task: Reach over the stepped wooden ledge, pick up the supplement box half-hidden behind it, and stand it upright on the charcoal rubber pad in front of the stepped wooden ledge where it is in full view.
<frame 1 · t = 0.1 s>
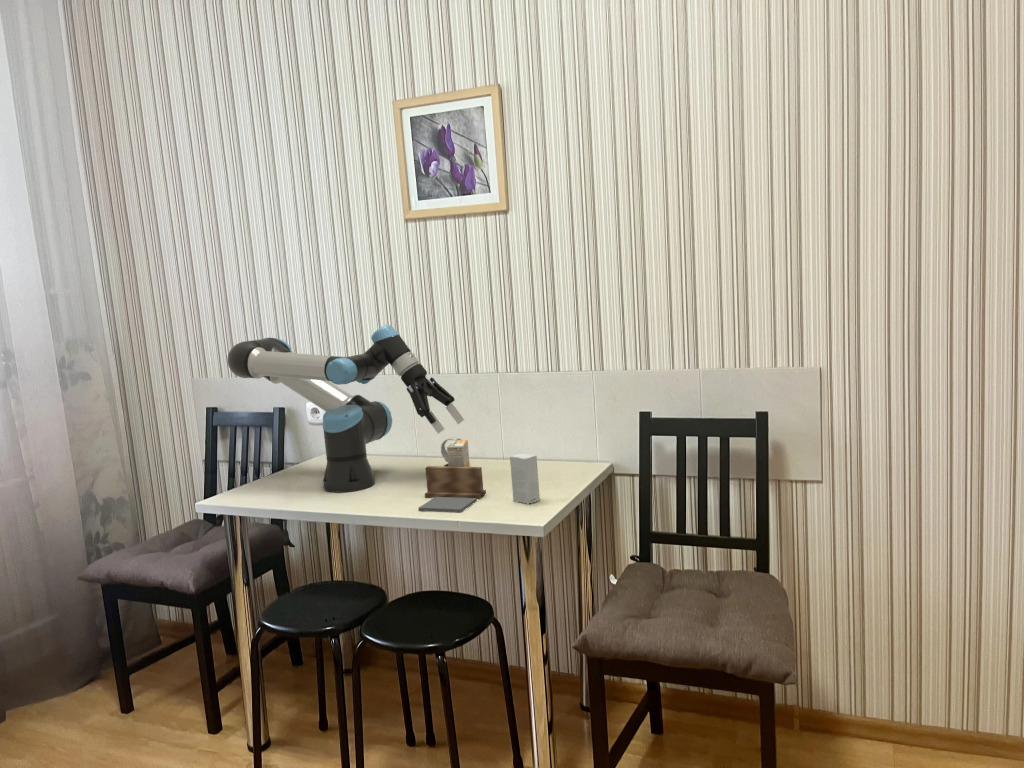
hand: (452, 426, 228), 15 cm above the table, tool tilted 35°, fingers open, 13 cm apart
pad: (448, 505, 199), on the table
watch: (455, 473, 234), on the table
stepped wooden ledge: (455, 496, 208), on the table
supplement box: (461, 488, 216), on the table
skincare box: (526, 501, 199), on the table
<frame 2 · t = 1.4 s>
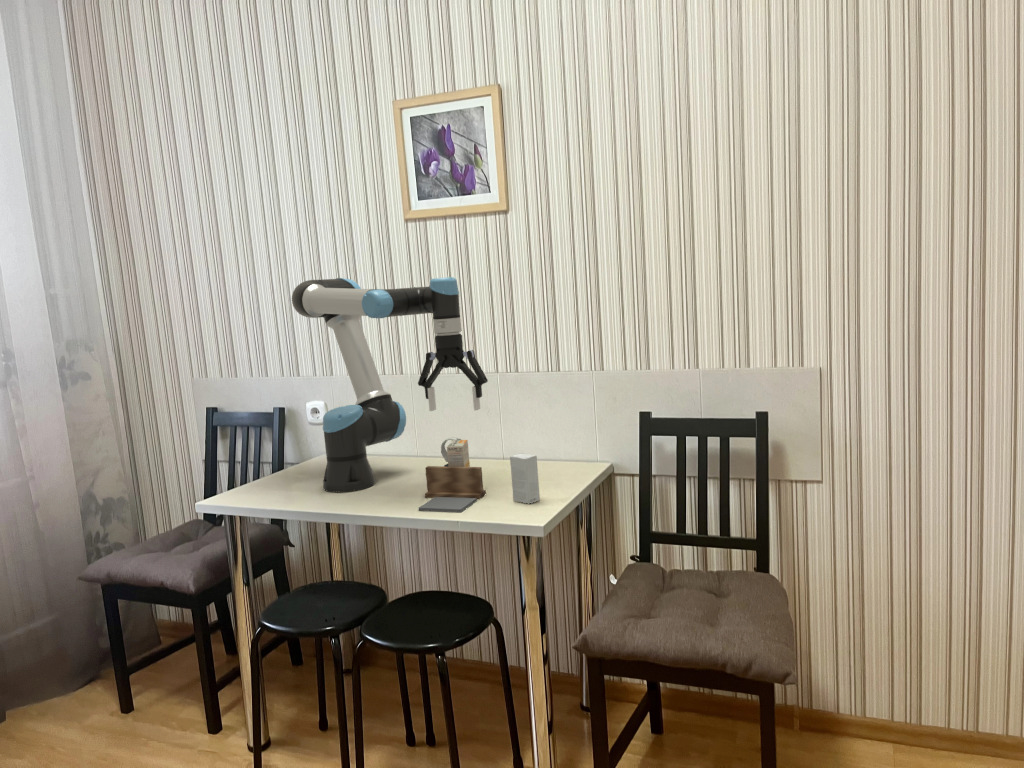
hand: (454, 410, 213), 22 cm above the table, tool pointing down, fingers open, 13 cm apart
nothing on the table moved.
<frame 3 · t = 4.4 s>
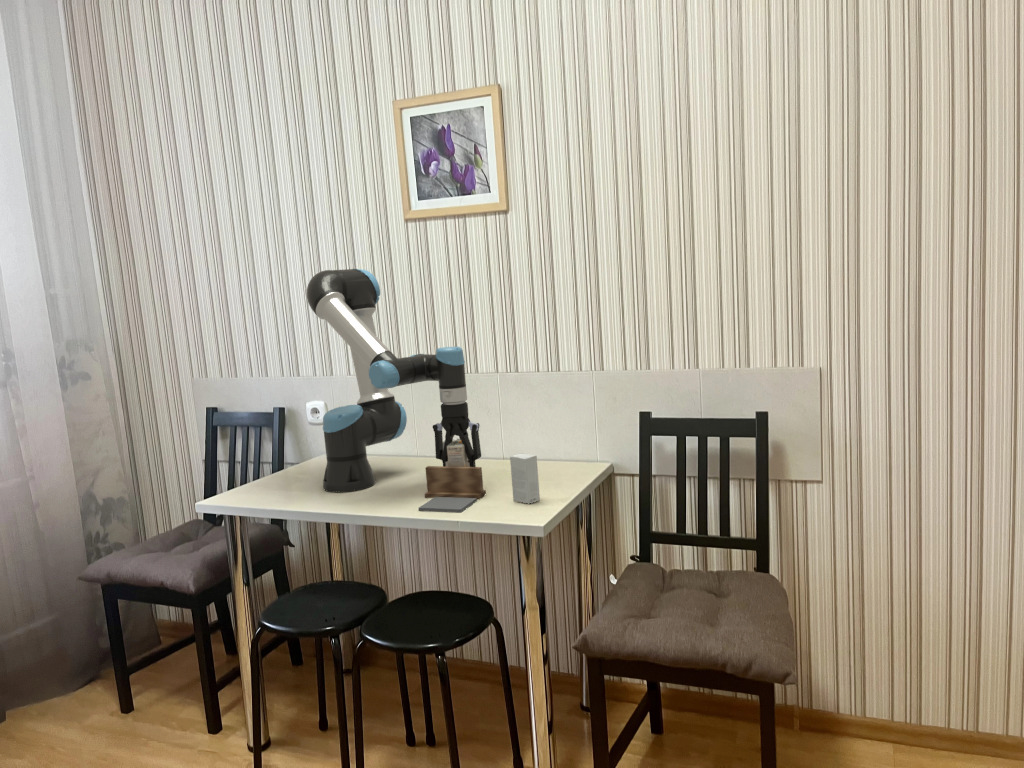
hand: (460, 483, 216), 1 cm above the table, tool pointing down, fingers closed on supplement box, 6 cm apart
supplement box: (461, 488, 216), on the table, touching gripper
everything else where it was.
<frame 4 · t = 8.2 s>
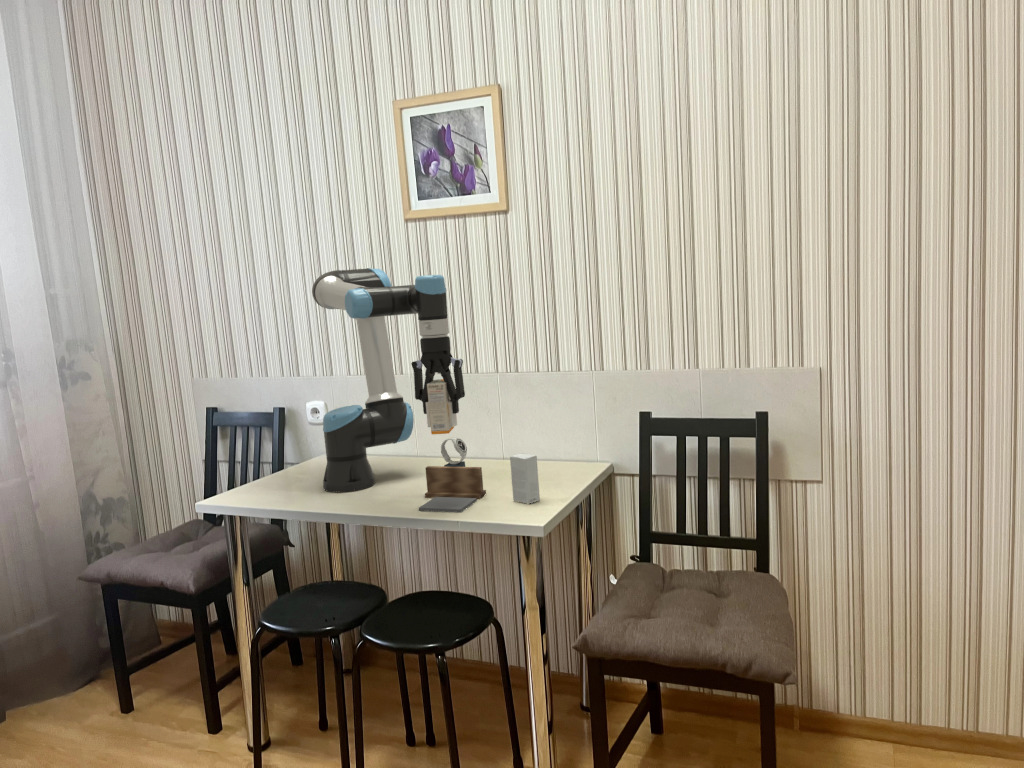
hand: (442, 426, 197), 21 cm above the table, tool pointing down, fingers closed on supplement box, 6 cm apart
supplement box: (442, 432, 197), point 19 cm above the table, touching gripper
everything else where it was.
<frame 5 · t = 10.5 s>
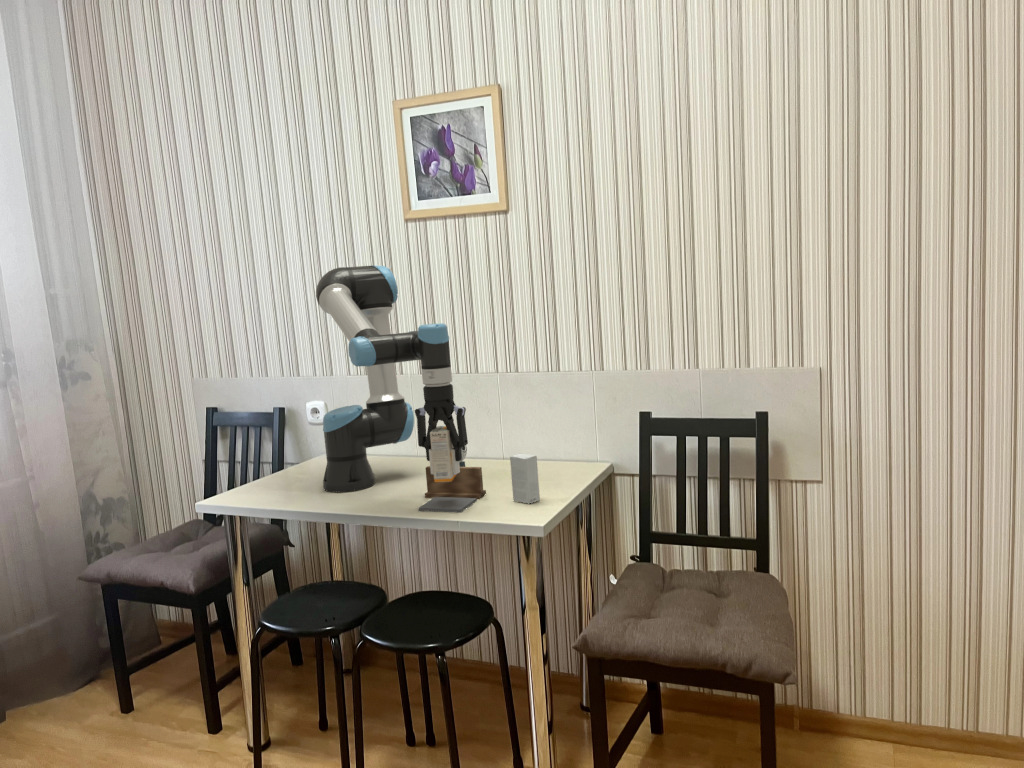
hand: (445, 473, 198), 9 cm above the table, tool pointing down, fingers closed on supplement box, 6 cm apart
supplement box: (445, 478, 198), point 7 cm above the table, touching gripper
everything else where it was.
when the fingers open (3 cm above the table, at t = 12.3 s): supplement box drops 1 cm, resting on pad.
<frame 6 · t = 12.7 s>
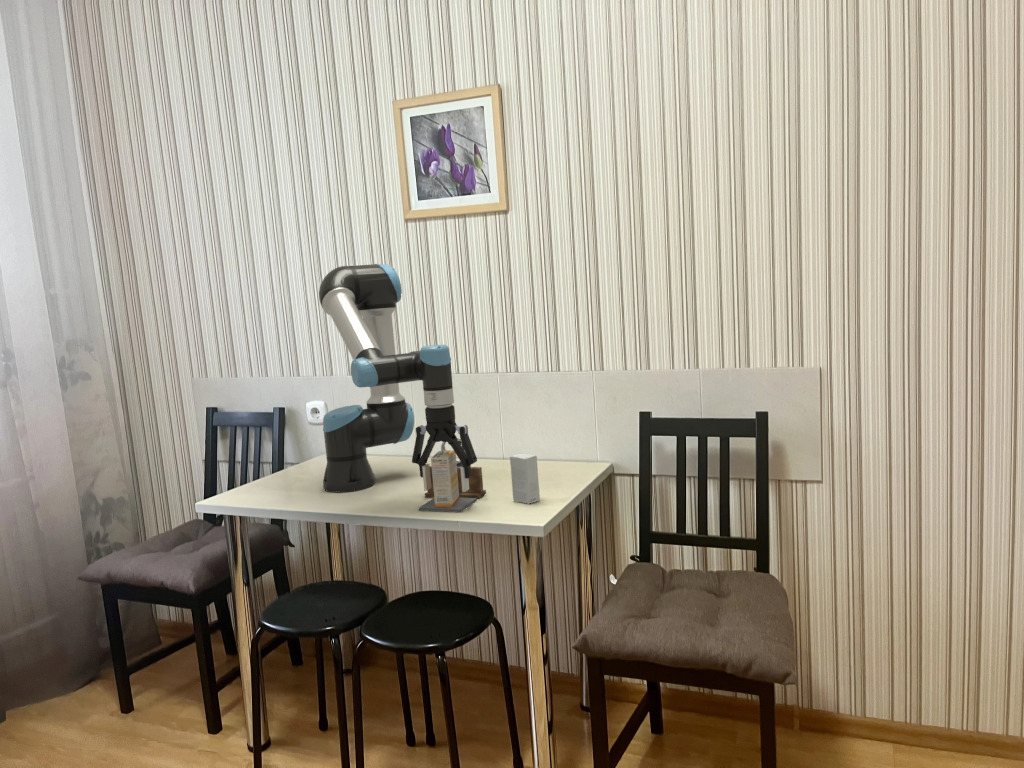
hand: (446, 489, 199), 4 cm above the table, tool pointing down, fingers open, 10 cm apart
supplement box: (447, 503, 199), point 1 cm above the table, touching pad
everything else where it was.
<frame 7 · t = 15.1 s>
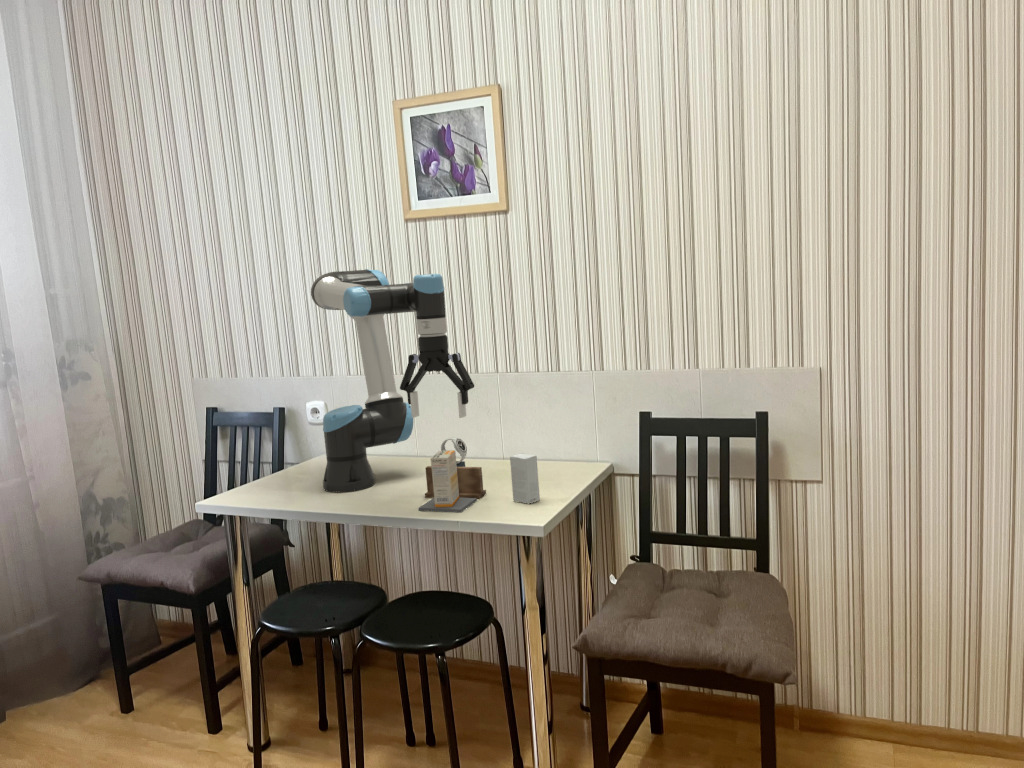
hand: (438, 416, 199), 23 cm above the table, tool pointing down, fingers open, 13 cm apart
nothing on the table moved.
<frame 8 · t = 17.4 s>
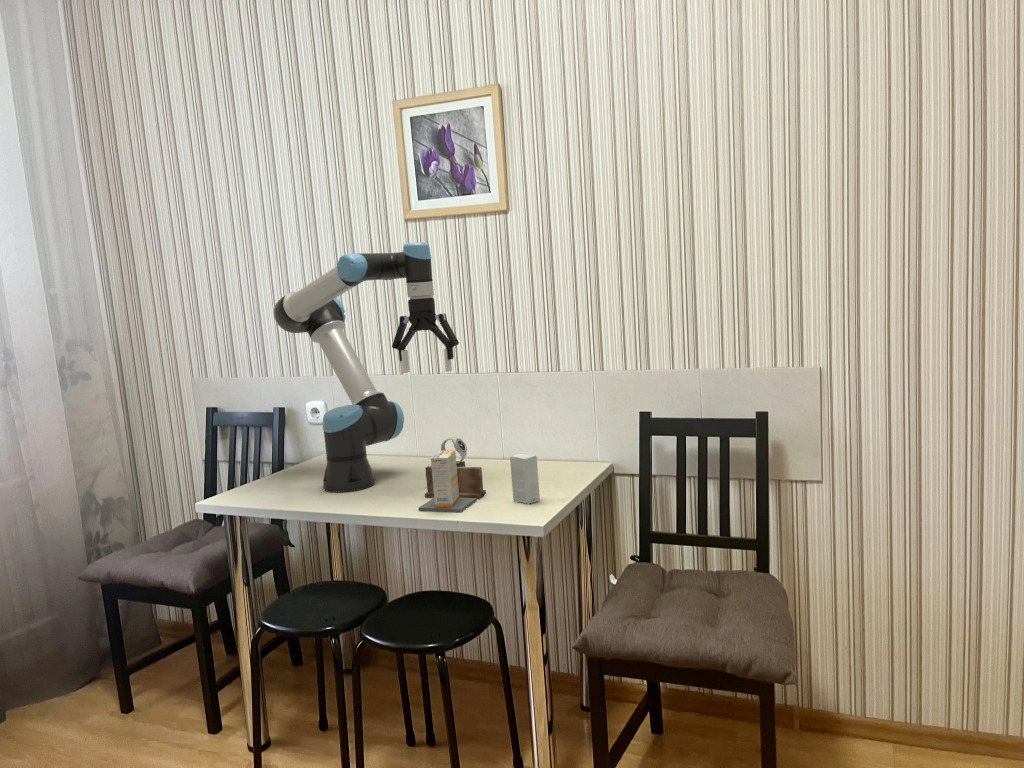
hand: (427, 371, 220), 33 cm above the table, tool pointing down, fingers open, 13 cm apart
nothing on the table moved.
at the end: supplement box inside the target area (0.2 cm from its centre), point 0.6 cm above the table; supplement box tilted 0°; the gripper is holding nothing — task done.
